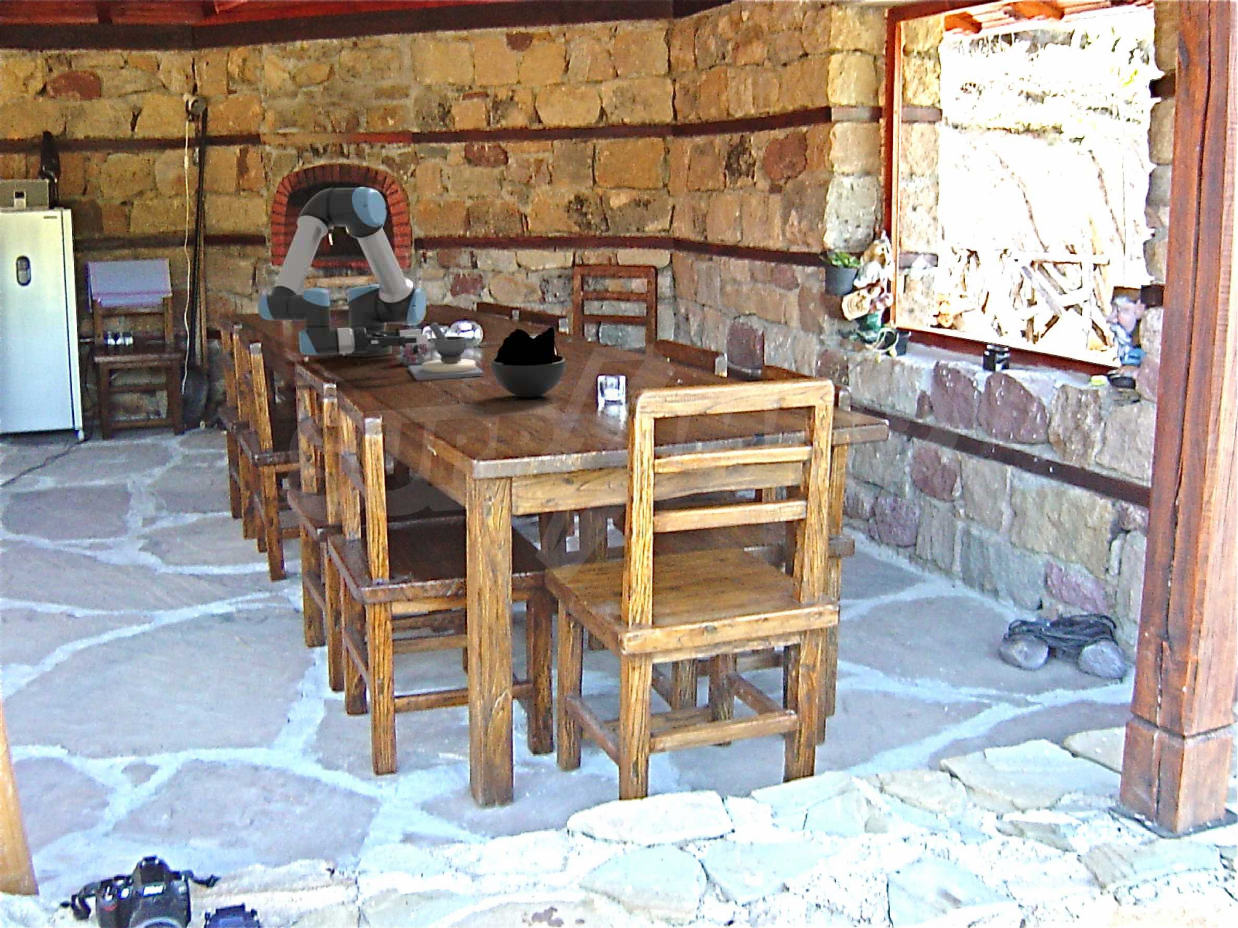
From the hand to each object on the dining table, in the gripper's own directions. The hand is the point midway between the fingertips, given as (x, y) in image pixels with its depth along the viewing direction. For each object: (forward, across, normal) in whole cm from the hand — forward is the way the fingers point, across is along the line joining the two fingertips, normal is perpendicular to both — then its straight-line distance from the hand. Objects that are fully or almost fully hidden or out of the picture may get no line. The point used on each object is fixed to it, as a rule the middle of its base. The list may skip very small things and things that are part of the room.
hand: (424, 336), depth 397 cm
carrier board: (+6, -1, -12) cm, 13 cm away
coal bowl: (+21, +50, -12) cm, 56 cm away
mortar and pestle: (+7, 0, -8) cm, 11 cm away
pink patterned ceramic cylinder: (-1, -24, -12) cm, 27 cm away
